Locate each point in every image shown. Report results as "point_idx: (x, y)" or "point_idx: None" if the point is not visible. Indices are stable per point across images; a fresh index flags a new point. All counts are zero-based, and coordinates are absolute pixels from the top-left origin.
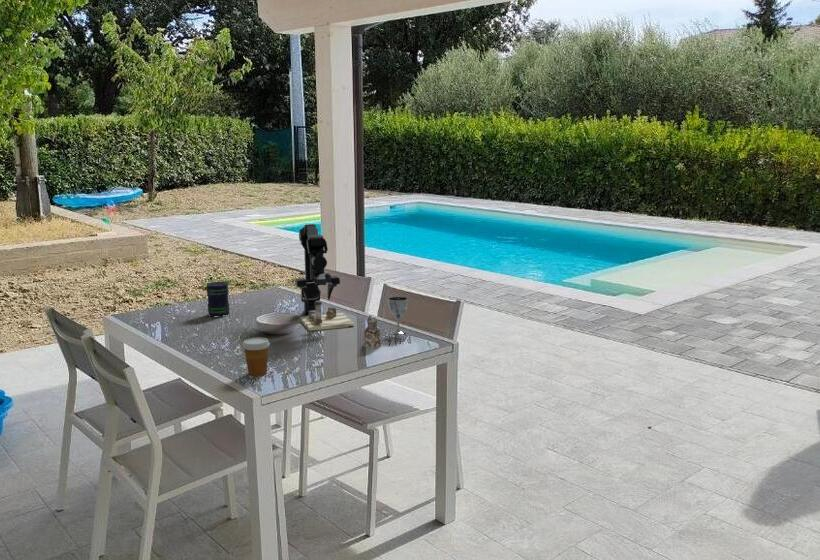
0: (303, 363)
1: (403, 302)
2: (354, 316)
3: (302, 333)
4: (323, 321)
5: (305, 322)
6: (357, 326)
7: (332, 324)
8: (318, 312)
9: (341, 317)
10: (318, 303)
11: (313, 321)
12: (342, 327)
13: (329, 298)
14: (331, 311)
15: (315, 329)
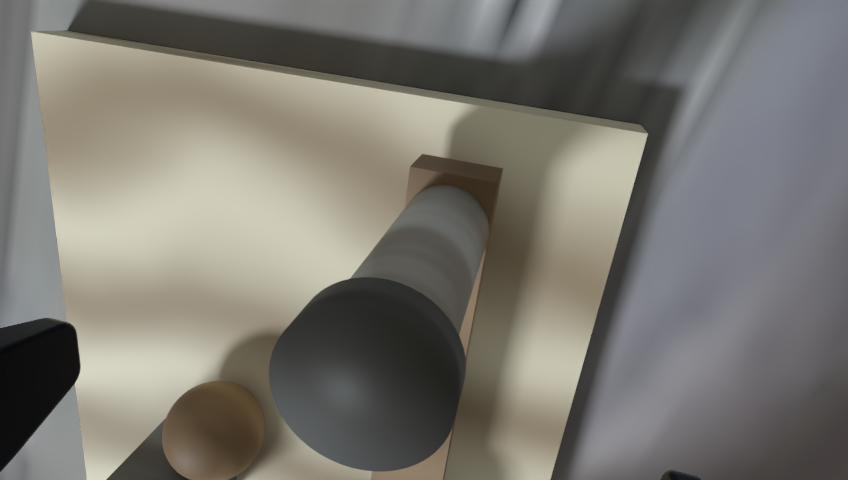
0: None
1: None
2: None
3: (801, 31)
4: None
5: (568, 389)
6: (29, 12)
7: (293, 113)
8: (438, 228)
9: (126, 352)
10: (387, 298)
11: None
12: (199, 52)
13: (3, 330)
14: (182, 431)
15: (548, 112)
